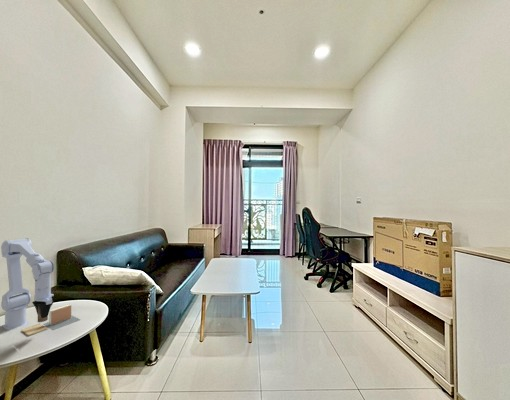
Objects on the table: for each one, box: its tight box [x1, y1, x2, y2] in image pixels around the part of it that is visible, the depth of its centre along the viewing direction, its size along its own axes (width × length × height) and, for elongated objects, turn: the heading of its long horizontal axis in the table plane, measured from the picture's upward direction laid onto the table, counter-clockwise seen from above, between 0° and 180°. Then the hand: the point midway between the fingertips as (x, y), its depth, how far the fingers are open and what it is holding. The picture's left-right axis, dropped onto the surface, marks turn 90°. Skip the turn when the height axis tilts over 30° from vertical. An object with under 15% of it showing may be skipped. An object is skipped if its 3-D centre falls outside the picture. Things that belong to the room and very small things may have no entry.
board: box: [21, 323, 48, 337], centre depth 117 cm, size 9×7×1 cm
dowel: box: [37, 307, 49, 323], centre depth 113 cm, size 4×4×7 cm
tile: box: [48, 303, 72, 325], centre depth 126 cm, size 2×9×7 cm, turn 150°
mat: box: [42, 314, 81, 331], centre depth 125 cm, size 12×12×1 cm
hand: (42, 316), depth 113 cm, fingers closed on dowel, 4 cm apart
